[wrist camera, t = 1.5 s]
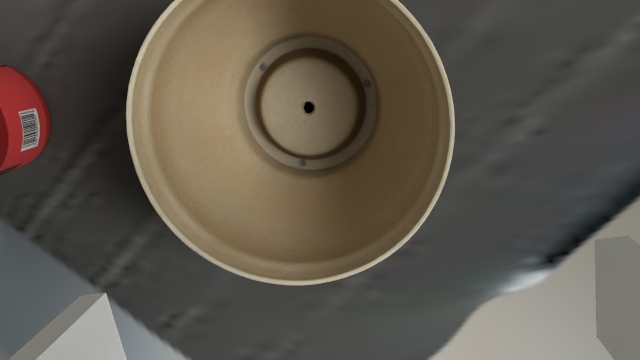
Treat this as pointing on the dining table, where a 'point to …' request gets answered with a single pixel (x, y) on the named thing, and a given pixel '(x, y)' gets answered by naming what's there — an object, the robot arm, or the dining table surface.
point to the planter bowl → (290, 132)
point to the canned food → (21, 120)
